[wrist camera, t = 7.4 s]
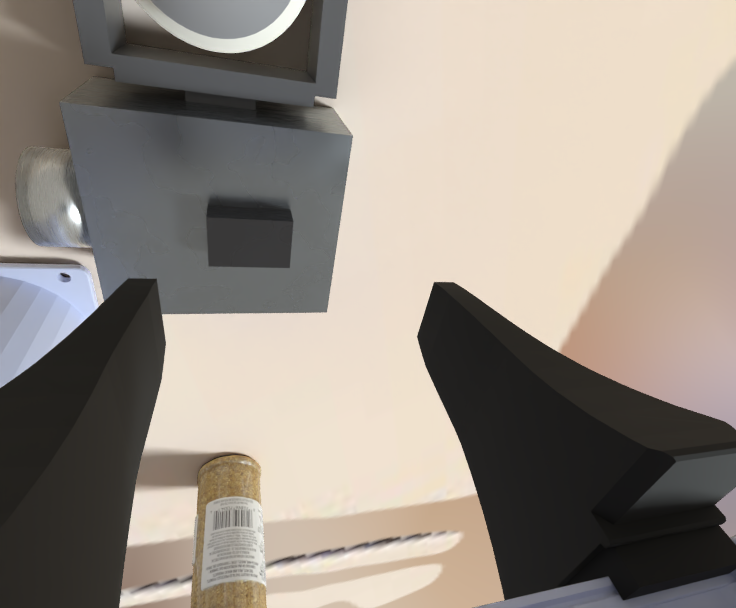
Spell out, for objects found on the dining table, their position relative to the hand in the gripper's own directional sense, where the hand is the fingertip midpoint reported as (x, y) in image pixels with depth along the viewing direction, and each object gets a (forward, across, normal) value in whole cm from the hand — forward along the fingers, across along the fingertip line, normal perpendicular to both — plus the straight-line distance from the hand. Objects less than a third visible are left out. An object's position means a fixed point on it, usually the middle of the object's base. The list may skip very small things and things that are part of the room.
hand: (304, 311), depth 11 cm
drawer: (+10, +2, +1) cm, 11 cm away
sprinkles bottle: (+10, +2, +23) cm, 25 cm away
